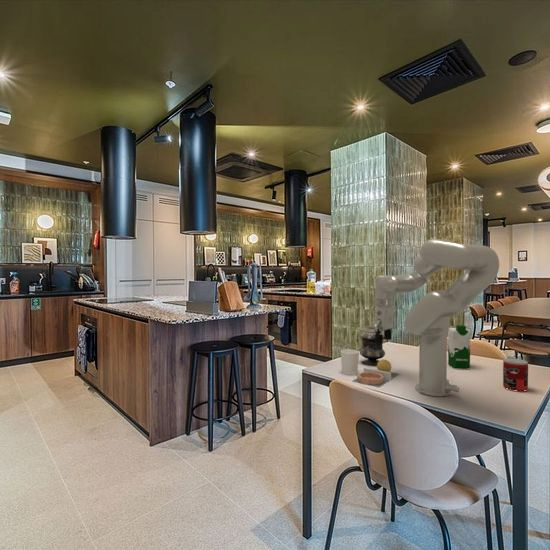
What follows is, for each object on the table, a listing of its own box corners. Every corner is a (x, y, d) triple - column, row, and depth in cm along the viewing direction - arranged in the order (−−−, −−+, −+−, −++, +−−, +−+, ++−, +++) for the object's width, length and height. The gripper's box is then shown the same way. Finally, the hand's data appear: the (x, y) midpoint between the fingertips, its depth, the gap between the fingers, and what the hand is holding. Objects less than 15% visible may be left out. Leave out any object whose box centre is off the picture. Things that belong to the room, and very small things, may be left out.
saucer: (387, 380, 145) (387, 375, 145) (376, 386, 137) (376, 381, 137) (364, 375, 151) (364, 370, 151) (353, 381, 144) (353, 376, 144)
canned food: (498, 385, 139) (499, 358, 139) (519, 385, 139) (519, 358, 139) (511, 392, 132) (511, 363, 132) (532, 392, 132) (533, 363, 131)
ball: (393, 372, 155) (393, 359, 155) (388, 376, 151) (388, 362, 151) (380, 370, 159) (380, 357, 159) (374, 373, 155) (374, 359, 154)
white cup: (359, 376, 151) (359, 353, 151) (340, 375, 153) (340, 353, 153) (358, 371, 159) (358, 349, 159) (340, 370, 161) (340, 349, 160)
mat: (399, 374, 153) (399, 374, 153) (379, 388, 137) (379, 387, 137) (374, 369, 161) (374, 369, 161) (351, 382, 144) (351, 381, 144)
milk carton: (453, 369, 161) (453, 326, 161) (445, 364, 170) (445, 323, 170) (472, 369, 161) (473, 326, 160) (464, 364, 170) (464, 323, 169)
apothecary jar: (390, 364, 170) (390, 327, 169) (374, 368, 163) (374, 330, 162) (370, 359, 180) (370, 324, 179) (354, 363, 173) (354, 327, 172)
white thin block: (391, 379, 146) (391, 372, 146) (390, 380, 145) (390, 373, 145) (364, 374, 153) (364, 367, 153) (363, 374, 153) (363, 368, 153)
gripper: (384, 305, 145) (383, 346, 146) (399, 302, 159) (398, 339, 159) (367, 304, 150) (366, 343, 151) (383, 300, 163) (383, 337, 164)
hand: (383, 341), depth 155 cm, fingers open, 9 cm apart
